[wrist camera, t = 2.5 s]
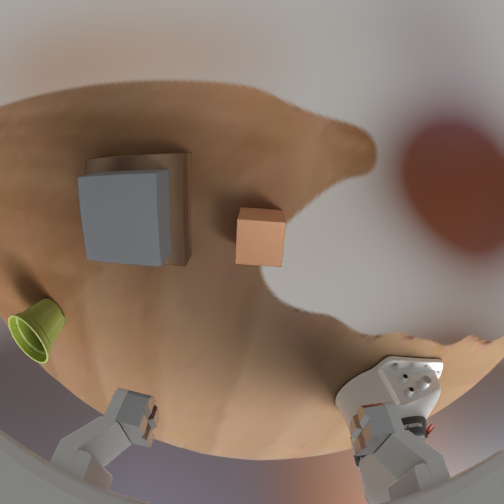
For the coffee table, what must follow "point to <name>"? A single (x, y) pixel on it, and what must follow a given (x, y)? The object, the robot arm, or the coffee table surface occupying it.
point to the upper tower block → (126, 216)
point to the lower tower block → (177, 192)
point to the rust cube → (260, 237)
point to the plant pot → (37, 329)
